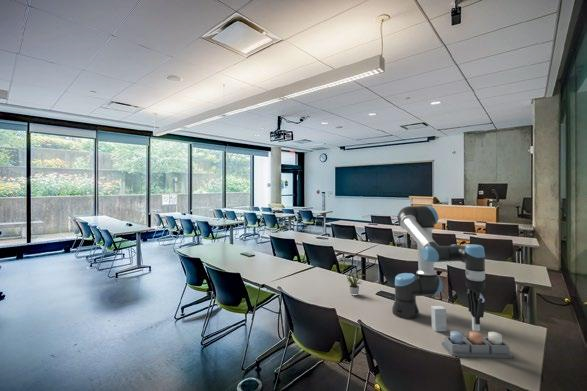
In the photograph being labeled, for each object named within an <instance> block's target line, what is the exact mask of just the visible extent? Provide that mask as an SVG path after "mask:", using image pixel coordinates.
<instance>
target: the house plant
mask: <svg viewBox="0 0 587 391" xmlns="http://www.w3.org/2000/svg"><path fill="white" fill-rule="evenodd" d="M359 273H360V272H356V275H355V273H354V272H353V273H352V272H350V275H351V276H352V277H351V276H350V275H349V274H347V275H346V279H347V280H346V282H347V283H348V285H349V286H348V287H349V293H350V295H351V294H358V295H359V291H360V290H359V289H360V285H361V284H362V282H363V281H361V280H360V279H361V278H362V277H363V276H364V274H363V275H361V274H359ZM359 280H360V281H359Z"/></svg>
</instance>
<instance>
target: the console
mask: <svg viewBox="0 0 587 391" xmlns="http://www.w3.org/2000/svg"><path fill="white" fill-rule="evenodd" d="M441 346H442V347H443V348H444V349H445V350H446V351H447V352H448V354H449V355H450V356H451V355H452V356H458V358H459V357H462V358H492V359H493V358H496V359H497V358H499V359H501V358H502V359H505V358H506V359H513V358H514V355H513V354H512V353H511V352H510V346H509V345H508V344H507V343H506V342H504V340H502V345H495V344H492V343H490V342H489V341H488V336H486V337H485V336H484V337H483V344H481V345H477V344H473V343H471V342H470V341H469V336H463V344H455V343H453V342H451V341H450V336H444V341H441ZM452 356H451V357H452Z"/></svg>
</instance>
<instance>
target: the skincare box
mask: <svg viewBox="0 0 587 391" xmlns="http://www.w3.org/2000/svg"><path fill="white" fill-rule="evenodd" d="M430 311H431V329H432V330H433V331H434V332H436V333H437V332H447V308H445V307H444V306H443V305H430Z"/></svg>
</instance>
